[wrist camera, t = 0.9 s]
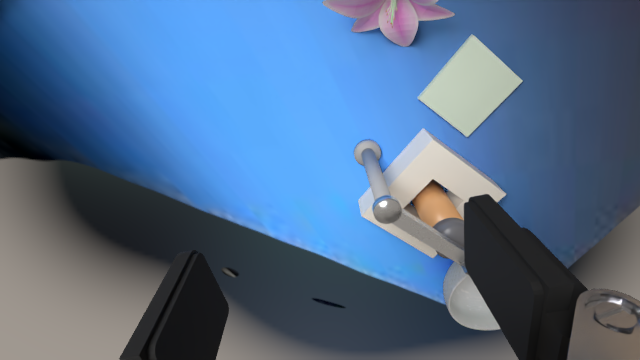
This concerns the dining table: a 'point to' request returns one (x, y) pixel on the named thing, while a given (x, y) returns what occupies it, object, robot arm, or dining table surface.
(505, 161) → the dining table surface
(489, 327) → the cereal bowl
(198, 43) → the dining table surface
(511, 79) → the pad
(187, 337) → the robot arm
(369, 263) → the dining table surface
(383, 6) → the lily
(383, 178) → the socket block
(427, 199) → the plug
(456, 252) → the grey ball-jointed lever
